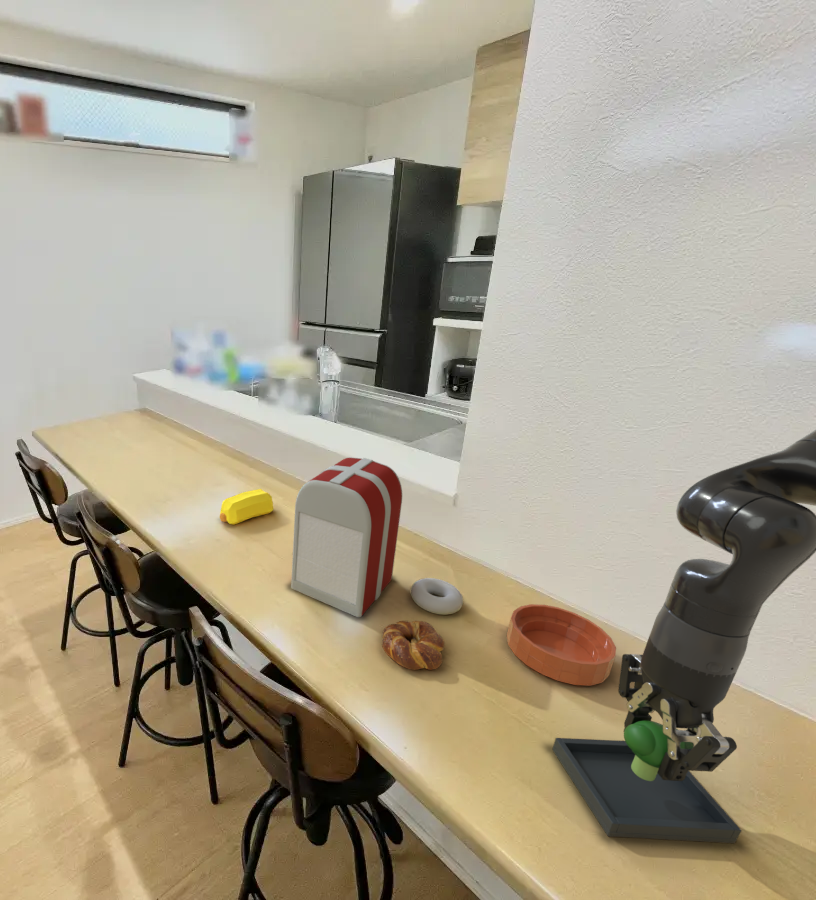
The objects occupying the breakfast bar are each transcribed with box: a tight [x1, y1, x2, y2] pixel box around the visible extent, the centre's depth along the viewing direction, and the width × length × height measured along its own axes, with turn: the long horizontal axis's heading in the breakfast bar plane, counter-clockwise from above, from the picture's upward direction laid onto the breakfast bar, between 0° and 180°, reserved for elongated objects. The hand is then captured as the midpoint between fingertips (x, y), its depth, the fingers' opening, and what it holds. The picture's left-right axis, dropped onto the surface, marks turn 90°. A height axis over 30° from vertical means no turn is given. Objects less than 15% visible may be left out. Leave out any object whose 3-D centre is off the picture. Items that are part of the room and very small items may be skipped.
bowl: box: [506, 603, 617, 687], centre depth 87 cm, size 15×15×5 cm
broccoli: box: [623, 720, 685, 781], centre depth 62 cm, size 7×5×8 cm
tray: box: [552, 737, 742, 844], centre depth 64 cm, size 15×12×2 cm
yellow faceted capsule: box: [219, 488, 274, 526], centre depth 138 cm, size 18×7×8 cm
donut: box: [410, 577, 464, 616], centre depth 101 cm, size 10×4×10 cm
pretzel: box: [381, 620, 445, 671], centre depth 89 cm, size 12×11×4 cm
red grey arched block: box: [290, 456, 403, 618], centre depth 104 cm, size 16×18×27 cm
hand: (649, 755), depth 62 cm, fingers closed on broccoli, 5 cm apart
